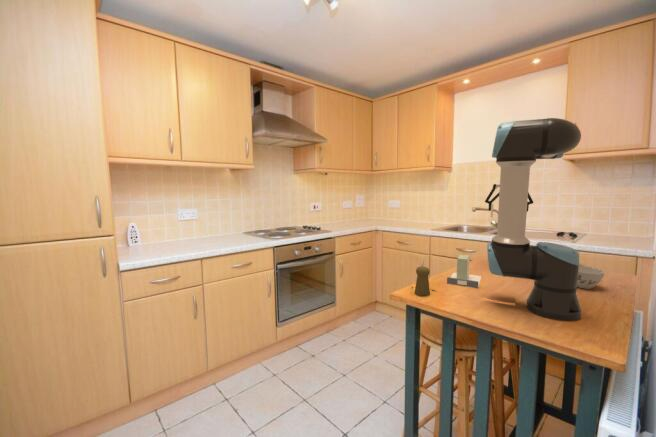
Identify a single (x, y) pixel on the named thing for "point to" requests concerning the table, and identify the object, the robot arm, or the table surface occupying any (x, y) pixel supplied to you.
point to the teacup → (589, 277)
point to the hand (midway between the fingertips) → (507, 217)
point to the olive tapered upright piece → (422, 282)
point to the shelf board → (464, 281)
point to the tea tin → (463, 267)
